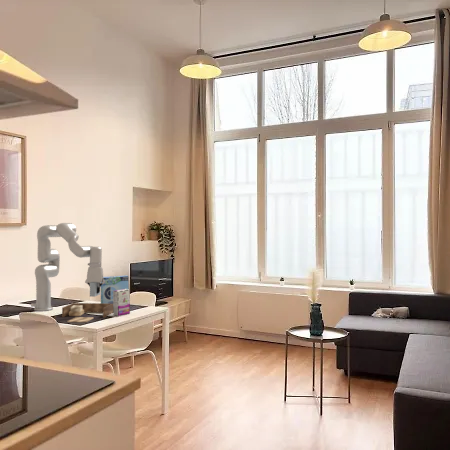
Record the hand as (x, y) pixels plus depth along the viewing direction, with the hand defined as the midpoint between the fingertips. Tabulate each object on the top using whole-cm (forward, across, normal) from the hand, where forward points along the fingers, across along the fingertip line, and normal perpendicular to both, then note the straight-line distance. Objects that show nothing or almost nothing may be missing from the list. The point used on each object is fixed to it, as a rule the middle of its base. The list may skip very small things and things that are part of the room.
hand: (94, 292), depth 308 cm
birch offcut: (+12, -12, -1) cm, 17 cm away
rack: (+15, -4, 0) cm, 15 cm away
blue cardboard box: (+15, +6, +26) cm, 30 cm away
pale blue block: (+2, 0, 0) cm, 2 cm away
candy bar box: (+15, +18, +2) cm, 23 cm away
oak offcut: (+15, -12, 0) cm, 20 cm away
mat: (+15, -2, -18) cm, 24 cm away
